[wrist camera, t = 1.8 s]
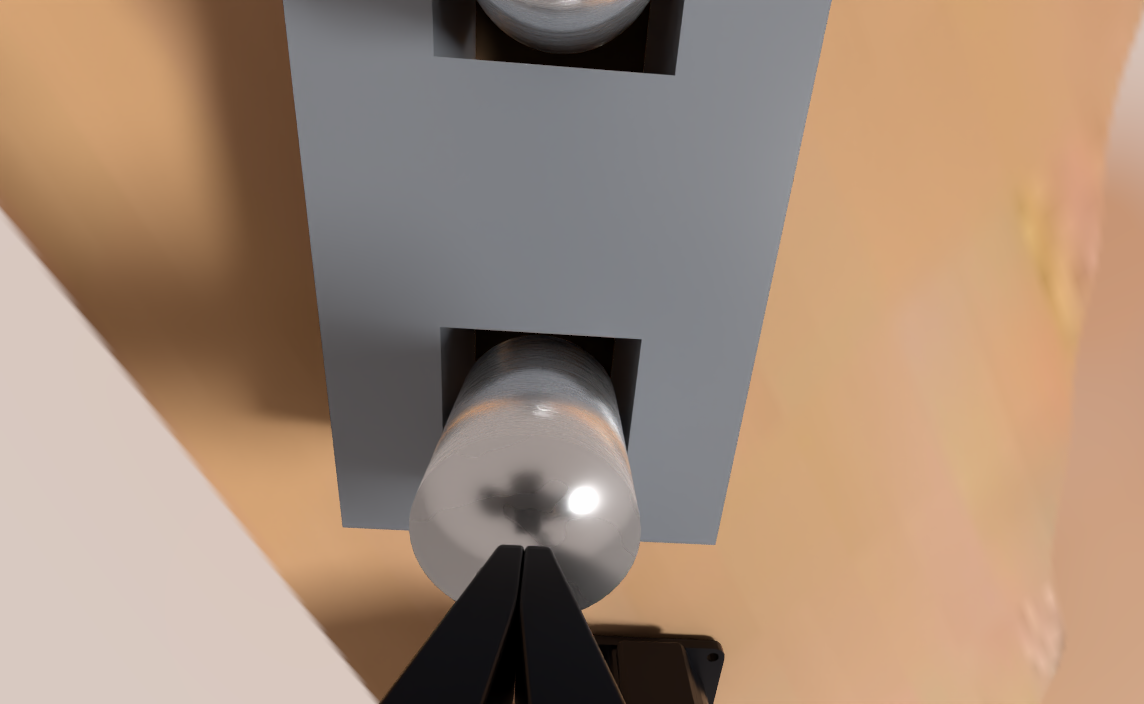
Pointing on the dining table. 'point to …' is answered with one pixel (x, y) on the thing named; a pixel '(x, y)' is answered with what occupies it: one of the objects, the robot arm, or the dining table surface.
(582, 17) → the peg
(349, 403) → the socket block
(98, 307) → the dining table surface
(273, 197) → the dining table surface
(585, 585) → the peg
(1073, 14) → the dining table surface
